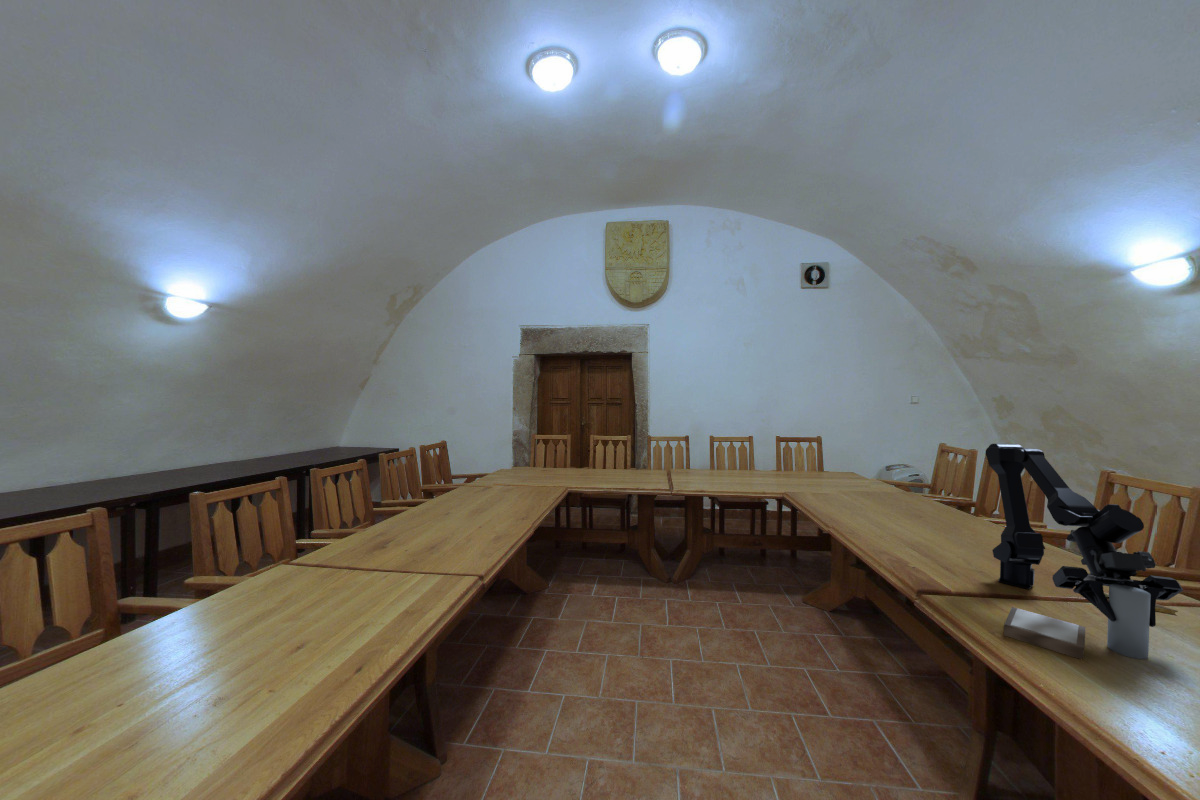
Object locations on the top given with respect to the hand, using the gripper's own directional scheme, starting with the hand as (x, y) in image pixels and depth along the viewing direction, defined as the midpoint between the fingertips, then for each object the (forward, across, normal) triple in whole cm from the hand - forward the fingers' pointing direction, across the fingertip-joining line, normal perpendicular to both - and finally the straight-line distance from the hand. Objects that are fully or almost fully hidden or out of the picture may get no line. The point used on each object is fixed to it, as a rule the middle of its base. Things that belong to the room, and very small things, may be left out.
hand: (1133, 623), depth 93 cm
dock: (+3, -13, +6) cm, 15 cm away
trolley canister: (+4, 0, +6) cm, 7 cm away
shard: (-17, +18, +27) cm, 37 cm away
